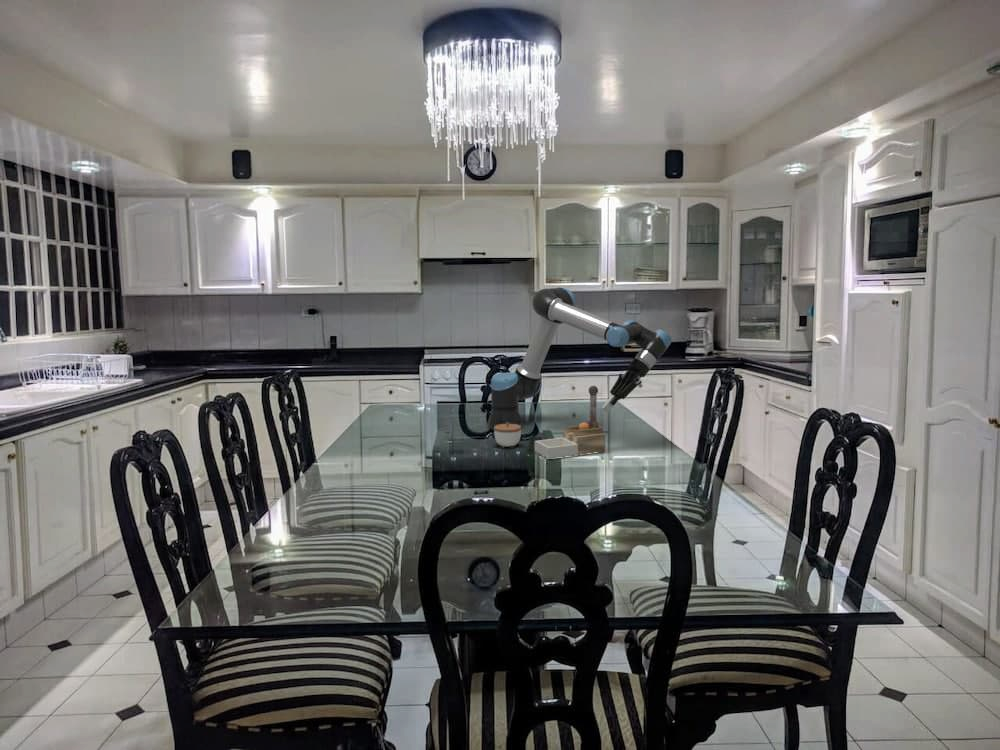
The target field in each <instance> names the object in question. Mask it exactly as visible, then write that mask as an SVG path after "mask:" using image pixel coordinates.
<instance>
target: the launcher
mask: <svg viewBox="0 0 1000 750" xmlns="http://www.w3.org/2000/svg"><path fill="white" fill-rule="evenodd" d="M562 435H563V437H562V438H565V439H567V440H569V441H571V442H574V443H576V444H578V455H580V454H587V453H594V452H603V453H605V452H606V433H604V428H603V427H599V428H593V429H585V430H579V425H572V426H565V427H564V430H563V432H562ZM604 451H605V452H604ZM580 456H581V455H580Z"/></svg>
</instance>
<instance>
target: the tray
mask: <svg viewBox="0 0 1000 750" xmlns="http://www.w3.org/2000/svg"><path fill="white" fill-rule="evenodd" d="M535 451H536V452H538V453H540V454H542V455H544V456H546V457H548V458H556V457H565V456H575V455H578V444H576V443H574V442H571V441H569V440H567V439H565V438H563V437H556V438H555V437H554V438H548V439H540V440H534V452H535Z"/></svg>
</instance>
